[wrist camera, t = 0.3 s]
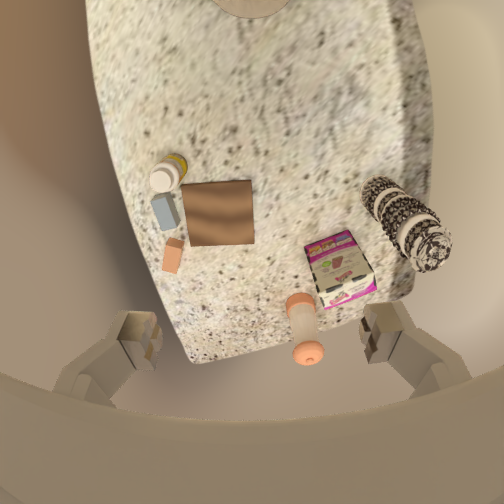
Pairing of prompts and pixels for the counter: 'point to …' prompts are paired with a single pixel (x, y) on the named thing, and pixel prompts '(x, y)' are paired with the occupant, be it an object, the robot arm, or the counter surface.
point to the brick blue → (165, 211)
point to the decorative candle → (407, 223)
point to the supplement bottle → (167, 173)
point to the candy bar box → (339, 269)
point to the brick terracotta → (172, 255)
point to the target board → (219, 213)
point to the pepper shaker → (304, 329)
